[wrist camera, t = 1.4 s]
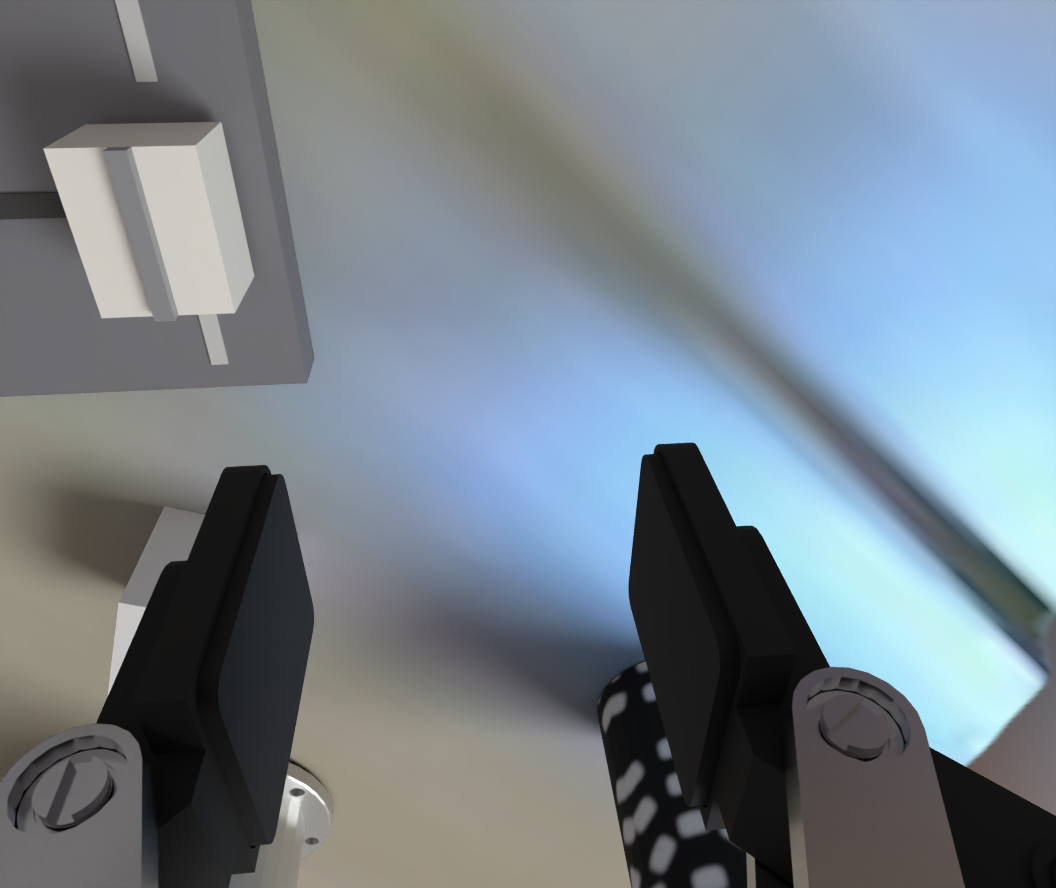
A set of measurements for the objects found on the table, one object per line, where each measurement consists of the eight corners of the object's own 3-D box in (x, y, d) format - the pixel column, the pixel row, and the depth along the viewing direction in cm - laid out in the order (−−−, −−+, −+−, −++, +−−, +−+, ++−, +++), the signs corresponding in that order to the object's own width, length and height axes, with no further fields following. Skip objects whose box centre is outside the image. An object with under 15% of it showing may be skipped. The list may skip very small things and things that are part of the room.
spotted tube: (619, 757, 49) (709, 1184, 32) (579, 681, 44) (660, 1135, 28) (745, 719, 48) (905, 1140, 31) (718, 637, 43) (889, 1082, 26)
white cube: (151, 596, 37) (106, 698, 32) (164, 504, 34) (117, 602, 29) (276, 618, 39) (251, 719, 34) (300, 532, 36) (276, 630, 31)
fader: (254, 276, 26) (231, 318, 23) (134, 280, 26) (96, 323, 23) (221, 121, 23) (191, 149, 21) (85, 124, 23) (36, 152, 20)
